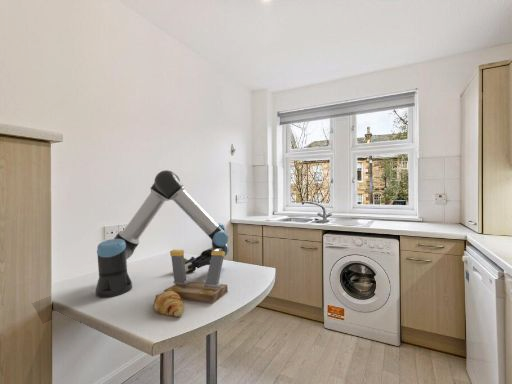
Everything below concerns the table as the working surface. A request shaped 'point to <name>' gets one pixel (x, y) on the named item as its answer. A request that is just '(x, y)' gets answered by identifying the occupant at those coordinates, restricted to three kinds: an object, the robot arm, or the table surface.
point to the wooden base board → (198, 291)
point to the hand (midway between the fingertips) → (182, 269)
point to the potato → (190, 269)
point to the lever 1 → (178, 267)
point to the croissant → (169, 303)
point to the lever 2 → (214, 269)
